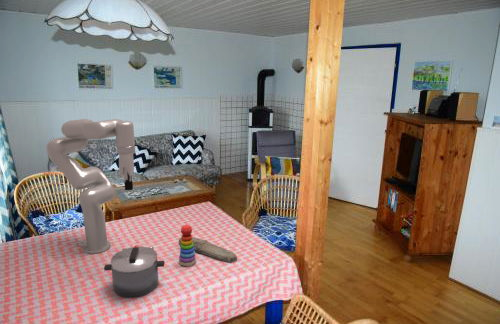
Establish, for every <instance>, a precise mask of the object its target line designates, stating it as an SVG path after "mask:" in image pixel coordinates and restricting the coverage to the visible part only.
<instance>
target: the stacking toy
mask: <svg viewBox="0 0 500 324" xmlns="http://www.w3.org/2000/svg"><path fill="white" fill-rule="evenodd" d="M180 232H181V234H182V235H181V236H180V238H181V245H180V244H179V245H180V249H179V251H180V252H179V255H178V256H179V257H178V263H179V265H180V266H183V267H191V266H193V265H195V264H196V262H197V259H196V251H194V246H193V245H194V244H193V240H192V238H193V234H192V232H193V228H192V226H191V225H190V224H185V225H183V226H181V228H180Z"/></svg>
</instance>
